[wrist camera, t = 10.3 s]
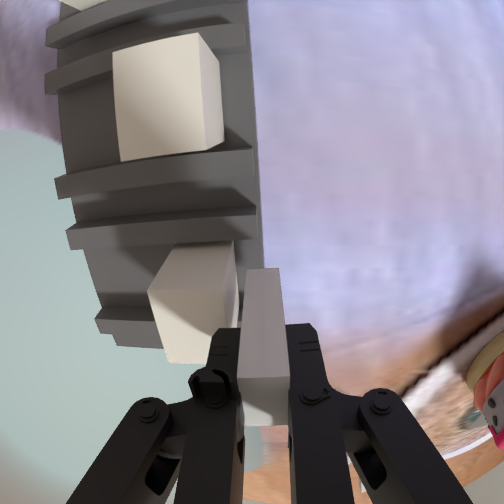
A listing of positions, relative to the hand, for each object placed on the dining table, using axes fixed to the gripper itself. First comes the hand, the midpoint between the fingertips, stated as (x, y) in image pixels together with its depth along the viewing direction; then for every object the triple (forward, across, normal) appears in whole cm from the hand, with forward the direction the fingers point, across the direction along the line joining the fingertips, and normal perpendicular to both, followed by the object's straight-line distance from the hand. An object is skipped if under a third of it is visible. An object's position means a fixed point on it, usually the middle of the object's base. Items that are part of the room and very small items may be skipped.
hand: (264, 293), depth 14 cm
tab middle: (+2, -3, +9) cm, 10 cm away
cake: (+6, +28, -16) cm, 33 cm away
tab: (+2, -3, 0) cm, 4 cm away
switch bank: (+5, -5, +9) cm, 12 cm away
